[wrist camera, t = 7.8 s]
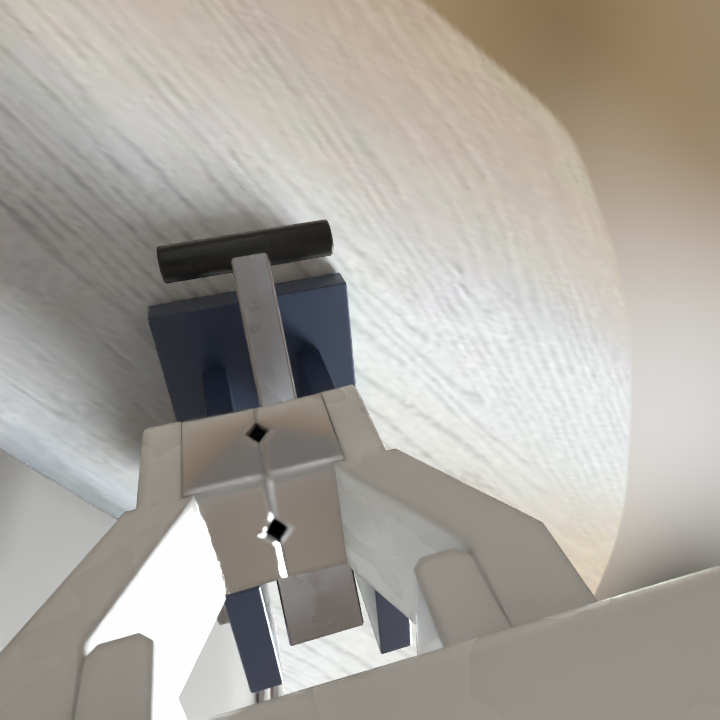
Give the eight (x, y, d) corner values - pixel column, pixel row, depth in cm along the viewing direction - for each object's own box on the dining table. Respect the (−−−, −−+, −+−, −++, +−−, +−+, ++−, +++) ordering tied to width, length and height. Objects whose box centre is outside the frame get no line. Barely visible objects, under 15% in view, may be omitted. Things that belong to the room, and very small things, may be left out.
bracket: (148, 306, 24) (130, 534, 14) (339, 272, 26) (459, 454, 15) (200, 489, 29) (218, 760, 19) (357, 452, 31) (456, 683, 20)
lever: (161, 252, 18) (150, 239, 16) (320, 227, 19) (332, 211, 17) (241, 622, 19) (241, 661, 17) (389, 580, 20) (409, 611, 18)
